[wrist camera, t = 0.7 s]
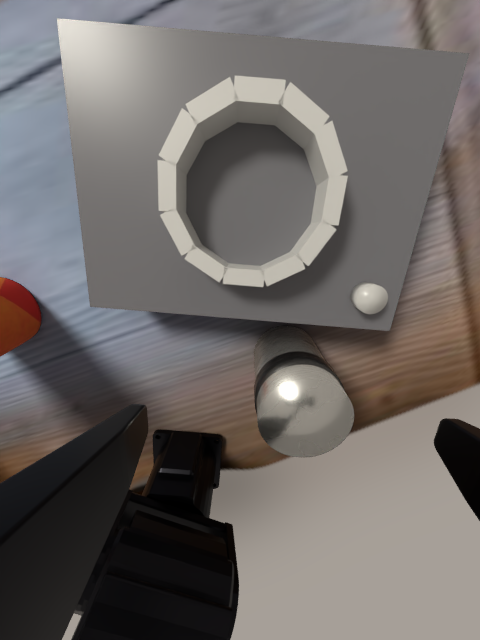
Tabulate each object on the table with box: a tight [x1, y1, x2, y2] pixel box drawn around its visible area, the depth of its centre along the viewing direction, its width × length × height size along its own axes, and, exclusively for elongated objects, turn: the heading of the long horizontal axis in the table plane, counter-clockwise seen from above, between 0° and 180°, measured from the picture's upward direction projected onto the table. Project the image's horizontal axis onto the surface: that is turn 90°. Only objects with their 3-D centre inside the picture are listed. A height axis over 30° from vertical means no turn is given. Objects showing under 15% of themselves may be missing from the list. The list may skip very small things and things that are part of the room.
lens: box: [254, 326, 354, 457], centre depth 17 cm, size 5×5×8 cm
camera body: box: [57, 19, 469, 331], centre depth 14 cm, size 13×18×7 cm
